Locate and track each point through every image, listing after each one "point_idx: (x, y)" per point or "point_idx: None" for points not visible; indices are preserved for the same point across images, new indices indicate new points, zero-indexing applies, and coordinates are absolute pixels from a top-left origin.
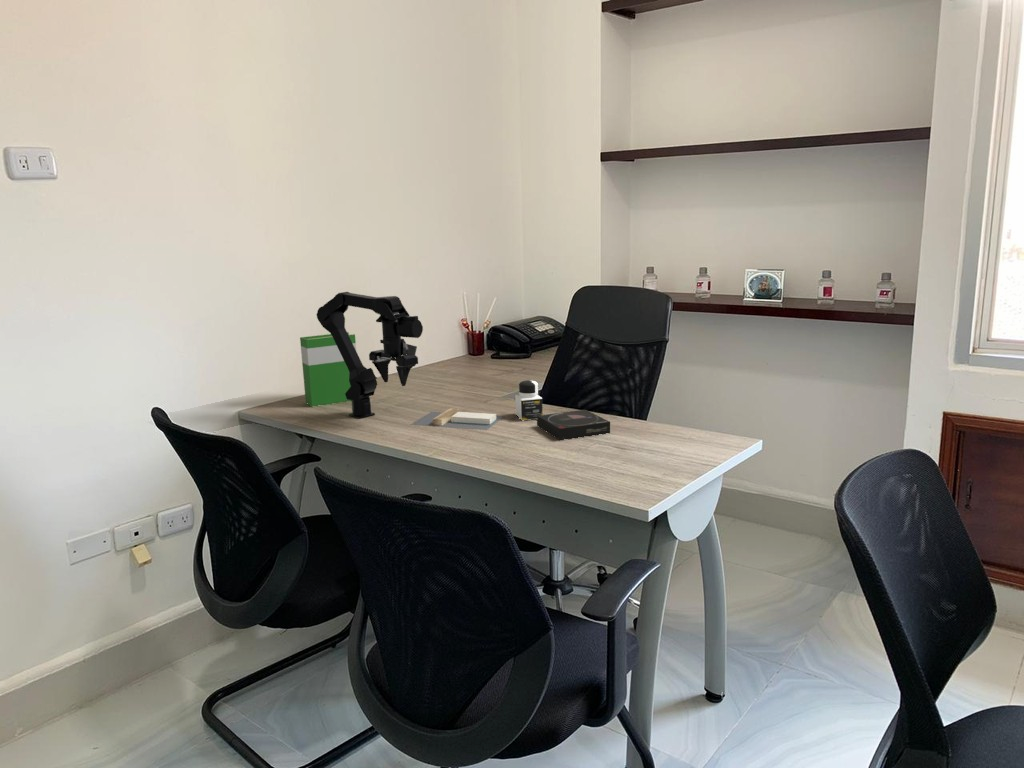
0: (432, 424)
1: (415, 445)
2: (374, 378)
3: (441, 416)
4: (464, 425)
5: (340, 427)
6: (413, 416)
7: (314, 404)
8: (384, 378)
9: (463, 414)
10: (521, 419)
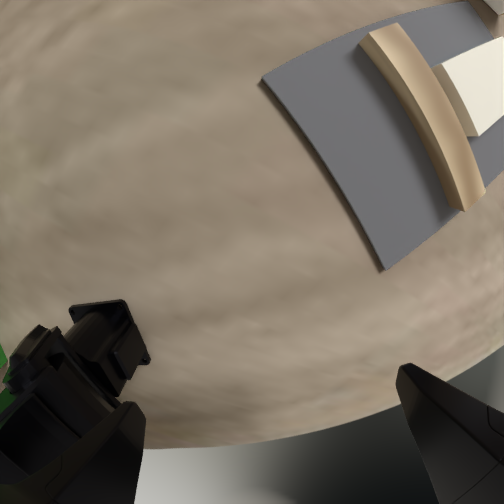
0: (443, 203)
1: (494, 329)
2: (50, 417)
3: (461, 161)
4: (499, 135)
5: (219, 422)
6: (253, 175)
7: (2, 359)
8: (139, 448)
9: (477, 85)
10: (499, 14)
